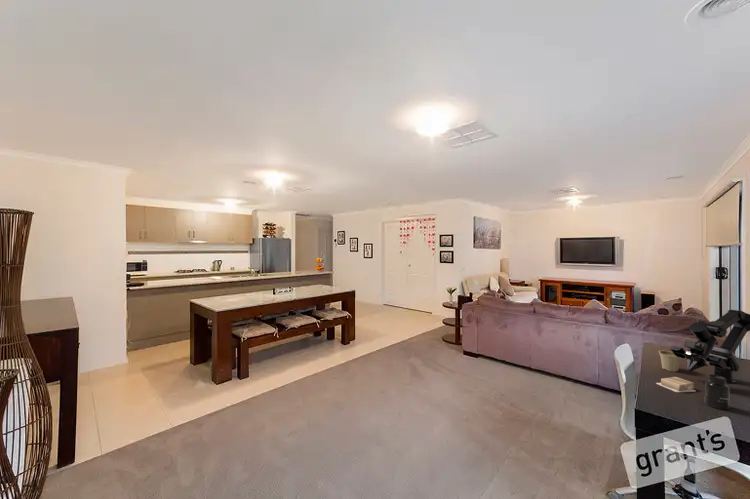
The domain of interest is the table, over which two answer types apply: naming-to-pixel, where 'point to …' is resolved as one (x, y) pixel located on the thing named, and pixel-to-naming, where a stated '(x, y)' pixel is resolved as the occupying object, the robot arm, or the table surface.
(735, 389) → the table surface
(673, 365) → the flower pot
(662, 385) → the felt mat
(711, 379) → the supplement bottle
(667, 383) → the maple tile
